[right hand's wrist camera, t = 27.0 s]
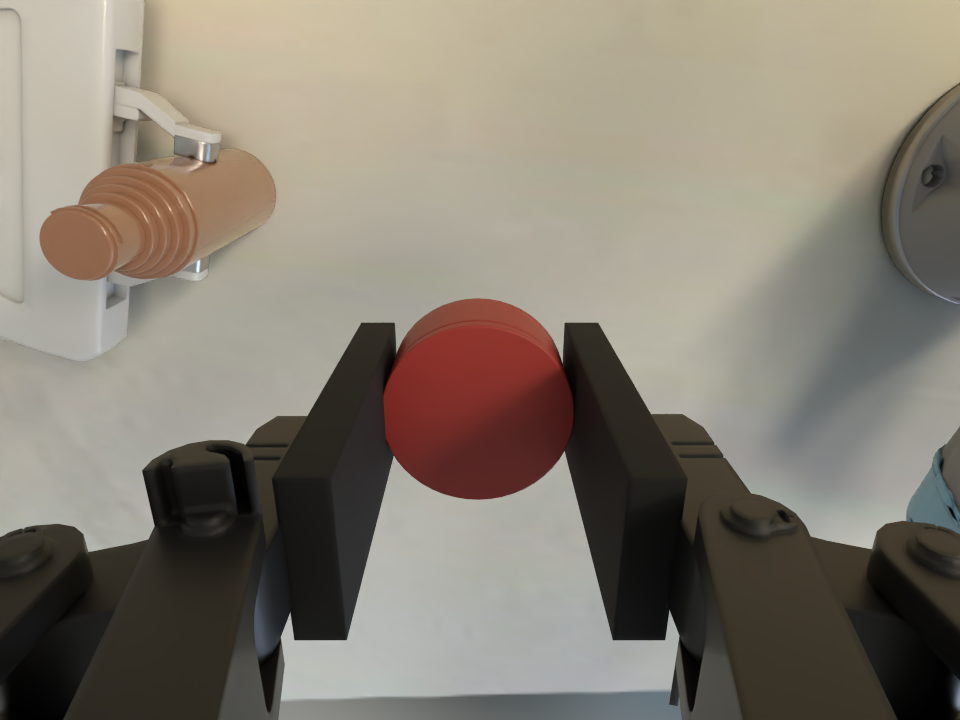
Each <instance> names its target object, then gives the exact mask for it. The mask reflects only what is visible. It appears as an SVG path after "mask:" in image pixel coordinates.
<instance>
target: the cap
mask: <svg viewBox="0 0 960 720" xmlns="http://www.w3.org/2000/svg"><path fill="white" fill-rule="evenodd" d="M383 399H384V416H385V432H386V441H387V443H388V445H389V448H390V450H391V452H392V453H393V455H394V456H395V458H396V459H397V461H398V462H399V463H400V464H401V466H402V467H403V468H404V469H405V470H406V471H407V472H408V473H409V474H410V475H411V476H412V477H414V478H415V479H416V480H418V481H419V482H421V483H422V484H424V485H425V486H427V487H429V488H431V489H433V490H435V491H438V492H440V493H443V494H446V495H449V496H453V497H458V498H464V499H478V500H479V499H492V498H498V497H503V496H506V495H510V494H513V493H516V492H518V491H520V490H523V489H525V488H527V487H528V486H530V485H532V484H534V483H535V482H537V481H538V480H539V479H541V478H542V477H543V476H544V475H545V474H546V473H548V472H549V471H550V470H551V469H552V468H553V466H554V465H555V464H556V463H557V461H558V460H559V459H560V457H561V456H562V454H563V452H564V451H565V449H566V447H567V444H568V442H569V440H570V437H571V433H572V430H573V424H574V400H573V394H572V391H571V388H570V385H569V382H568V379H567V376H566V373H565V370H564V367H563V364H562V361H561V358H560V355H559V352H558V349H557V347H556V345H555V343H554V341H553V339H552V338H551V336H550V335H549V333H548V332H547V331H546V329H545V328H544V327H543V326H542V325H541V324H540V323H539V322H538V321H537V320H536V319H534V318H533V317H532V316H531V315H529V314H528V313H526V312H524V311H523V310H521V309H519V308H517V307H515V306H513V305H510V304H507V303H504V302H501V301H496V300H491V299H465V300H460V301H455V302H452V303H449V304H446V305H443V306H441V307H439V308H437V309H435V310H433V311H431V312H430V313H428V314H427V315H425V316H424V317H423V318H421V319H420V320H419V321H418V322H417V323H416V324H415V325H414V326H413V327H412V328H411V329H410V331H409V332H408V333H407V335H406V336H405V338H404V339H403V341H402V343H401V345H400V347H399V349H398V352H397V354H396V357H395V360H394V363H393V366H392V368H391V371H390V374H389V377H388V380H387V382H386V386H385V389H384V392H383Z"/></svg>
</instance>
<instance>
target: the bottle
mask: <svg viewBox="0 0 960 720" xmlns="http://www.w3.org/2000/svg"><path fill="white" fill-rule="evenodd" d="M275 201H276V190H275V185H274V182H273V179H272V177H271V175H270V173H269V171H268V170H267V168H266V167H265V166H264V165H263V164H262V163H261V162H260V161H259V160H258V159H257V158H256V157H254V156H253V155H251V154H249V153H247V152H245V151H242V150H238V149H230V148H228V149H220V152H219V161H214V162H204V161H200V160H197V159H195V158H194V157H193V156H191V157H183V156H173V157H167V158H160V159H154V160H147V161H141V162H134V163H128V164H122V165H117V166H113V167H111V168H108V169H106V170H104V171H103V172H101V173H100V174H99V175H97V176H96V177H95V178H93V179H92V180H91V181H90V182H89V183H88V184H87V185H86V187H85V188H84V190H83V192H82V194H81V196H80V199H79V203H78V205H71V206H66V207H61V208H58V209H55V210H53V211H51V212H50V213H51V215H50V216H49V217H47V219H46V220H45V221H44V223H43V224H42V227H41V229H40V235H39V240H40V246H41V249H42V252H43V254H44V256H45V257H46V259H47V260H48V262H49V263H50V264H51V265H52V266H53V267H54V268H55V269H56V270H57V271H59V272H60V273H62V274H64V275H65V276H68V277H70V278H73V279H78V280H88V281H92V280H99V279H101V278H104V277H106V276H108V275H109V274H110V273H111V272H113V271H115V272H117V273H120V274H122V275H125V276H128V277H131V278H137V279H157V278H164V277H168V276H171V275H173V274H175V273H177V272H179V271H181V270H183V269H184V268H186V267H188V266H190V265H192V264H193V263H195V262H197V261H199V260H200V259H202V258H204V257H206V256H208V255H209V254H211V253H213V252H215V251H216V250H218V249H220V248H222V247H224V246H225V245H227V244H229V243H231V242H232V241H234V240H236V239H238V238H240V237H241V236H243V235H245V234H247V233H248V232H250V231H252V230H254V229H256V228H257V227H259V226H261V225H262V224H263V223H264V222H266V221H267V219H268V218H269V217H270V215H271V213H272V212H273V209H274V206H275Z"/></svg>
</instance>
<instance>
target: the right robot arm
mask: <svg viewBox="0 0 960 720" xmlns="http://www.w3.org/2000/svg"><path fill="white" fill-rule="evenodd" d="M882 228H883V234H884V239H885V243H886V246H887V249H888V252H889V254H890V256H891V258H892V260H893V262H894V264H895V265H896V267H897V268H898V269H899V271H900V272H901V273H902V274H903V275H904V276H905V277H906V278H907V280H909V281H910V282H911V283H912V284H914V285H915V286H917V287H918V288H920V289H921V290H923V291H925V292H928V293H930V294H932V295H935V296H937V297H940V298H942V299H945V300H947V301H950V302H954V303H957V304H960V84H959V85H958V86H957V87H955V88H954V89H953V90H951V91H950V92H948V93H947V94H946V95H945V96H944V97H943V98H941V99H940V100H939V101H938V102H937V103H936V104H935V105H934V106H933V107H932V108H931V109H930V110H929V111H928V112H927V113H926V114H925V115H924V116H923V117H922V119H921V120H920V121H919V122H918V123H917V125H916V126H915V127H914V129H913V130H912V131H911V133H910V134H909V136H908V137H907V139H906V140H905V142H904V144H903V145H902V147H901V149H900V151H899V153H898V155H897V157H896V159H895V161H894V163H893V166H892V168H891V171H890V174H889V177H888V180H887V183H886V187H885V192H884V197H883V204H882ZM959 308H960V307H959ZM395 357H396V337H395V323H361V325H360V326H359V328H358V330H357V332H356V333H355V335H354V337H353V338H352V340H351V342H350V344H349V345H348V347H347V349H346V351H345V352H344V354H343V356H342V357H341V359H340V361H339V363H338V364H337V366H336V368H335V370H334V371H333V373H332V375H331V376H330V378H329V380H328V382H327V383H326V385H325V387H324V389H323V390H322V392H321V394H320V396H319V397H318V399H317V401H316V402H315V404H314V406H313V408H312V409H311V411H310V413H309V415H308V416H277V417H275V418H274V419H272V420H271V421H269V422H267V423H266V424H264V425H263V426H261V427H260V428H258V429H257V430H256V431H255V432H254V434H253V435H252V437H251V438H250V439H249V441H248V442H247V444H246V446H245V445H244V444H241V443H237V442H233V441H229V440H209V441H203V442H197V443H191V444H187V445H184V446H181V447H178V448H175V449H172V450H169V451H167V452H166V453H164V454H162V455H160V456H159V457H157V458H155V459H153V460H152V461H151V462H150V463H149V464H148V465H147V466H146V467H145V468H144V469H143V470H142V472H143V476H144V481H145V485H146V489H147V494H148V498H149V503H150V507H151V511H152V516H153V520H154V525H155V527H154V529H153V531H152V533H151V535H150V537H149V540H145V541H141V542H137V543H133V544H128V545H123V546H118V547H113V548H108V549H103V550H98V551H92V552H88V549H87V546H86V542H85V539H84V535H83V534H82V533H81V532H80V531H79V530H77V529H76V528H75V527H72V526H67V525H61V524H51V525H37V526H31V527H26V528H25V529H18V530H15V531H12V532H9V533H7V534H6V535H4V536H2V537H0V720H278V717H279V708H280V700H281V691H282V682H283V674H284V665H285V664H284V657H283V650H282V643H281V635H282V632H283V630H284V627H285V624H286V622H287V619H288V617H289V614H290V612H291V619H292V626H293V633H294V640H347V637H348V633H349V629H350V625H351V621H352V617H353V613H354V609H355V605H356V601H357V597H358V593H359V590H360V586H361V582H362V578H363V574H364V570H365V566H366V562H367V558H368V554H369V550H370V546H371V542H372V539H373V535H374V531H375V527H376V523H377V519H378V515H379V511H380V507H381V503H382V499H383V495H384V491H385V488H386V484H387V480H388V476H389V472H390V468H391V464H392V460H393V456H394V455H393V453H392V452H391V450H390V448H389V445H388V443H387V441H386V432H385V416H384V399H383V392H384V389H385V386H386V382H387V380H388V377H389V374H390V371H391V368H392V366H393V363H394V360H395ZM563 367H564V370H565V373H566V376H567V379H568V382H569V385H570V388H571V391H572V394H573V400H574V424H573V430H572V433H571V437H570V440H569V442H568V444H567V447H566V449H565V454H566V458H567V462H568V466H569V470H570V473H571V477H572V481H573V485H574V489H575V493H576V497H577V501H578V505H579V509H580V513H581V517H582V521H583V524H584V528H585V532H586V536H587V540H588V544H589V548H590V552H591V556H592V560H593V564H594V568H595V572H596V576H597V579H598V583H599V587H600V591H601V595H602V599H603V603H604V607H605V611H606V615H607V619H608V623H609V627H610V630H611V634H612V638H613V640H665V637H666V630H667V623H668V616H669V609H670V612H671V615H672V617H673V620H674V622H675V625H676V628H677V630H678V633H679V635H680V637H679V643H678V650H677V657H676V663H675V670H674V677H673V683H672V690H671V697H670V705H676V706H677V705H678V701H679V698H680V707H681V716H682V720H960V427H959V429H958V430H957V431H956V433H955V434H954V435H953V437H952V438H951V439H950V440H949V442H948V443H947V444H946V445H944V446H943V447H941V448H940V449H939V450H938V451H937V452H936V453H935V456H934V458H933V463H932V467H931V469H930V471H929V472H928V474H927V475H926V477H925V478H924V480H923V481H922V483H921V484H920V486H919V487H918V489H917V490H916V492H915V493H914V495H913V497H912V498H911V500H910V502H909V505H908V508H907V514H906V521H900V522H894V523H888V524H885V525H884V526H883V527H882V528H880V529H879V530H878V531H877V533H876V537H875V540H874V544H873V548H872V550H871V549H866V548H861V547H856V546H851V545H846V544H841V543H835V542H830V541H826V540H822V539H818V538H814V537H811V536H810V534H809V532H808V530H807V528H806V526H805V524H804V523H803V522H802V521H801V519H800V518H799V517H798V516H797V514H796V513H794V512H793V511H791V510H790V509H788V508H787V507H785V506H784V505H782V504H781V503H778V502H776V501H773V500H771V499H768V498H766V497H763V496H760V495H755V494H751V493H750V491H749V490H748V489H747V487H746V486H745V484H744V483H743V482H742V480H741V479H740V478H739V476H738V475H737V473H736V472H735V471H734V469H733V468H732V466H731V465H730V464H729V462H728V461H727V460H726V458H723V454H722V453H721V451H720V450H719V449H718V447H717V446H716V445H714V442H713V440H712V439H711V437H710V436H709V435H708V433H707V432H706V431H705V429H704V428H703V427H702V426H700V425H699V424H697V423H696V422H694V421H692V420H691V419H689V418H688V417H686V416H685V415H683V414H650V412H649V410H648V408H647V407H646V405H645V403H644V401H643V400H642V398H641V396H640V395H639V393H638V391H637V389H636V388H635V386H634V384H633V382H632V381H631V379H630V377H629V376H628V374H627V372H626V370H625V369H624V367H623V365H622V363H621V362H620V360H619V358H618V357H617V355H616V353H615V351H614V350H613V348H612V346H611V344H610V343H609V341H608V339H607V337H606V336H605V334H604V332H603V331H602V329H601V327H600V325H599V324H598V323H565V329H564V348H563Z"/></svg>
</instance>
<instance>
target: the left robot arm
mask: <svg viewBox="0 0 960 720" xmlns="http://www.w3.org/2000/svg"><path fill="white" fill-rule="evenodd" d="M143 22H144V0H0V339H1V340H9V341H12V342H15V343H17V344H20V345H23V346H26V347H29V348H32V349H35V350H38V351H41V352H44V353H48V354H51V355H54V356H58V357H62V358H65V359H69V360H74V361H88V360H92V359H94V358H96V357H98V356H100V355H102V354H104V353H106V352H107V351H109V350H111V349H112V348H113V347H115V346H116V345H117V344H119V343H120V342H121V341H123V340H124V339H125V337H126V335H127V330H128V311H129V292H130V287H132V286H135V285H139V284H142V283H145V282H149V281H152V280H156V279H137V278H131V277H128V276H125V275H122V274H120V273H117V272H115V271H113V272H111V273H110V274H109V275H108V276H106V277H104V278H101V279H99V280H92V281H88V280H78V279H73V278H70V277H68V276H65V275H64V274H62V273H60V272H59V271H57V270H56V269H55V268H54V267H53V266H52V265H51V264H50V263H49V262H48V260H47V259H46V257H45V256H44V254H43V252H42V249H41V246H40V240H39V235H40V229H41V227H42V224H43V223H44V221H45V220H46V219H47V217H49V216H50V215H51V213H50V212H51V211H53V210H55V209H58V208H61V207H66V206H71V205H78V203H79V199H80V196H81V194H82V192H83V190H84V188H85V187H86V185H87V184H88V183H89V182H90V181H91V180H92V179H93V178H95V177H96V176H97V175H99V174H100V173H101V172H103V171H104V170H106V169H108V168H111V167H113V166H117V165H122V164H128V163H134V162H136V156H137V137H138V121H149V120H153V121H154V122H156V123H157V124H158V125H159V126H160V127H162V128H163V129H164V130H165V131H166V132H168V133H169V134H170V135H171V136H172V137H174V138H175V141H174V154H176V155H179V156H183V157H191V156H193V157H194V158H195V159H197V160H200V161H204V162H214V161H219V152H220V143H221V133H220V132H218V131H214V130H211V129H207V128H203V127H199V126H195V125H191V124H190V121H189V120H188V119H186V118H185V117H184V116H183V115H182V114H181V113H180V112H179V111H178V110H177V109H176V108H174V107H173V106H172V105H171V104H170V103H169V102H168V101H167V100H166V99H165V98H164V97H162V96H161V95H160V94H158V93H155V92H151V91H147V90H143V89H140V80H141V61H142V42H143ZM209 256H210V254H209V255H208V256H206V257H204V258H202V259H200V260H199V261H197V262H195V263H193V264H192V265H190V266H188V267H186V268H184V269H183V270H181V271H179V272H177V273H175V274H173V275H171V276H172V277H176V278H181V279H185V280H190V281H201V280H202V279H204V278H205V277H207V276H208V268H209ZM157 279H159V278H157Z"/></svg>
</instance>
